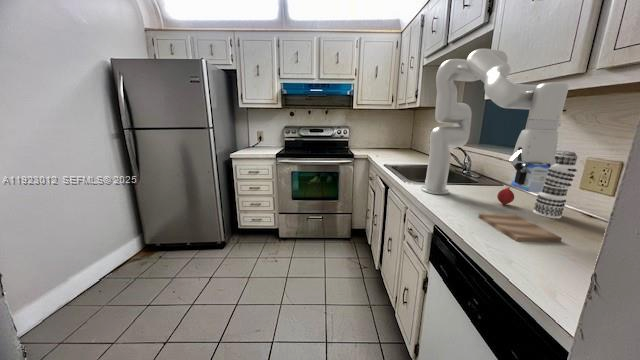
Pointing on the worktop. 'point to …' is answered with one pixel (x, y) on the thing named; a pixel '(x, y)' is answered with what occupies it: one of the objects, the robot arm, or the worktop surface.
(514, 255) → the worktop surface
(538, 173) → the medicine box
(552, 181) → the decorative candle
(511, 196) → the red oval piece
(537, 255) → the worktop surface
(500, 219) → the cutting board
